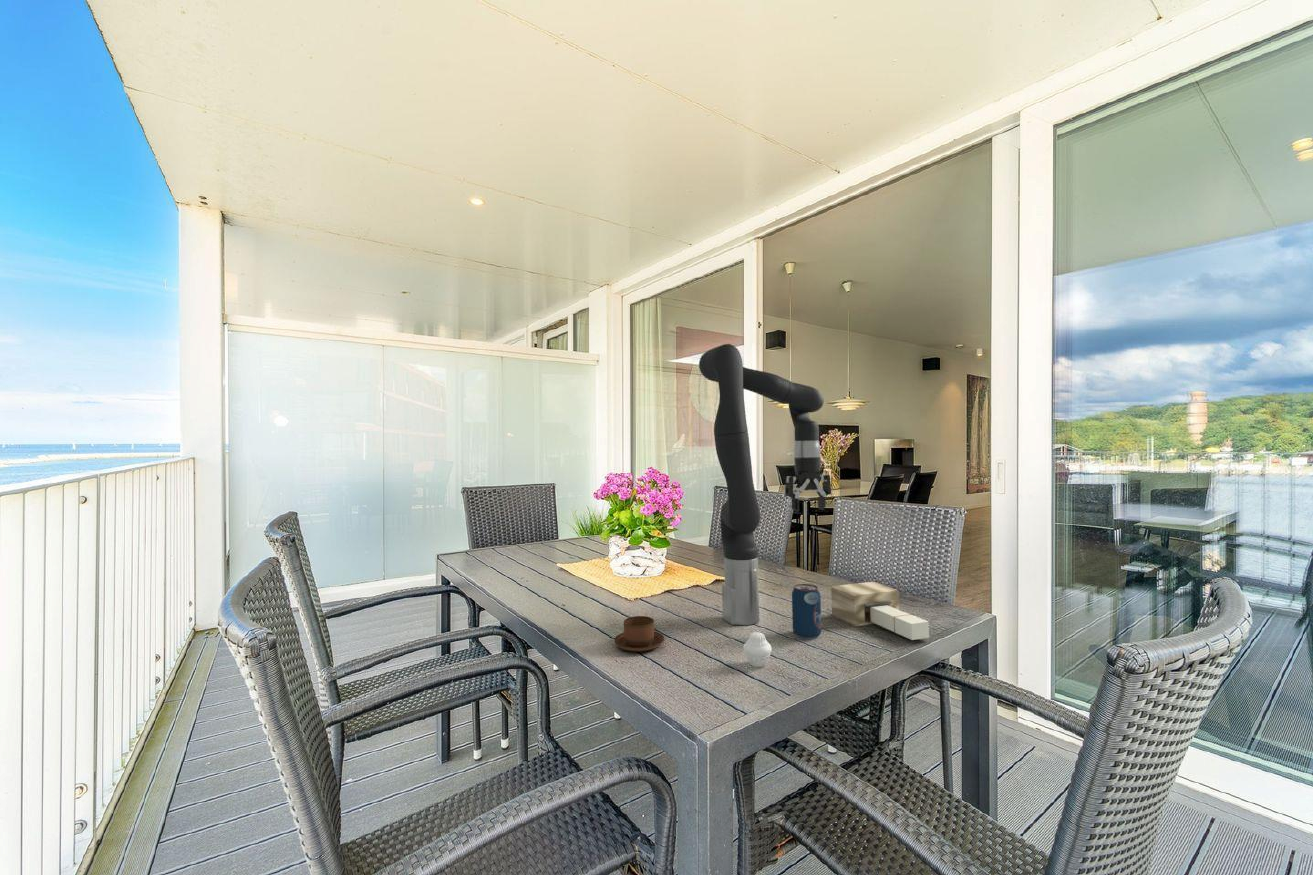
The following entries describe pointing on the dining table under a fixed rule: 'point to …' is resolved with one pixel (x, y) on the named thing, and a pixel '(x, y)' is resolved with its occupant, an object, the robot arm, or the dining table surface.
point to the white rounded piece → (757, 649)
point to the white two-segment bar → (900, 622)
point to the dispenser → (861, 601)
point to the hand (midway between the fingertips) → (808, 510)
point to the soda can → (806, 611)
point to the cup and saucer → (639, 635)
